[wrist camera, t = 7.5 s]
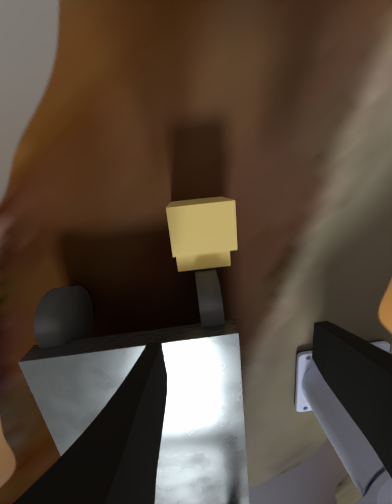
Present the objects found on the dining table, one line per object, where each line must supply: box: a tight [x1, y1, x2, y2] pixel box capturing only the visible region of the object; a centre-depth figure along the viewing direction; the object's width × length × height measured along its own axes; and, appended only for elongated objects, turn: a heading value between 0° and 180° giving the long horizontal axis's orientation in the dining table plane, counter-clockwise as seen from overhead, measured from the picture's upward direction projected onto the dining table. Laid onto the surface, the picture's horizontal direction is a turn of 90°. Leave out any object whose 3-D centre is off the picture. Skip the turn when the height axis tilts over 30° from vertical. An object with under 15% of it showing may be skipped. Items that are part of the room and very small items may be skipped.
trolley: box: [18, 268, 249, 504], centre depth 14 cm, size 14×24×16 cm, turn 6°
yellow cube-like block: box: [166, 196, 237, 272], centre depth 15 cm, size 4×5×5 cm
